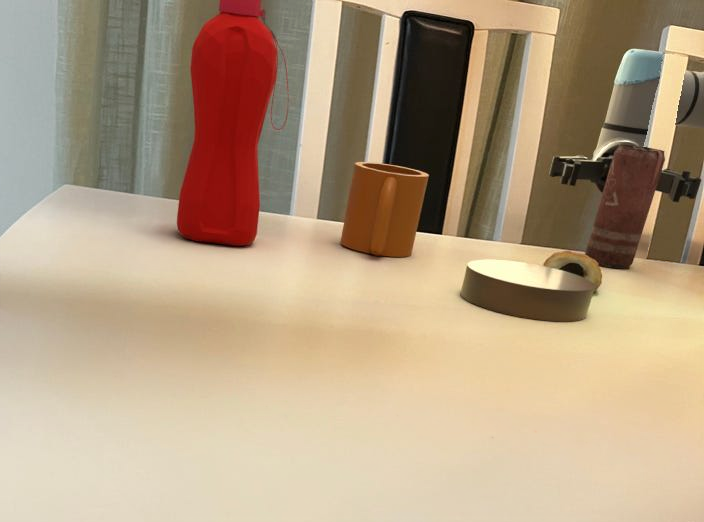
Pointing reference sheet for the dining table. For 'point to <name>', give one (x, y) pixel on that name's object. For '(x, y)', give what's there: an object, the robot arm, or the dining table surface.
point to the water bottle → (228, 124)
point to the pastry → (576, 265)
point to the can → (625, 205)
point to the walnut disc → (527, 290)
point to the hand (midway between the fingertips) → (626, 182)
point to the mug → (383, 209)
